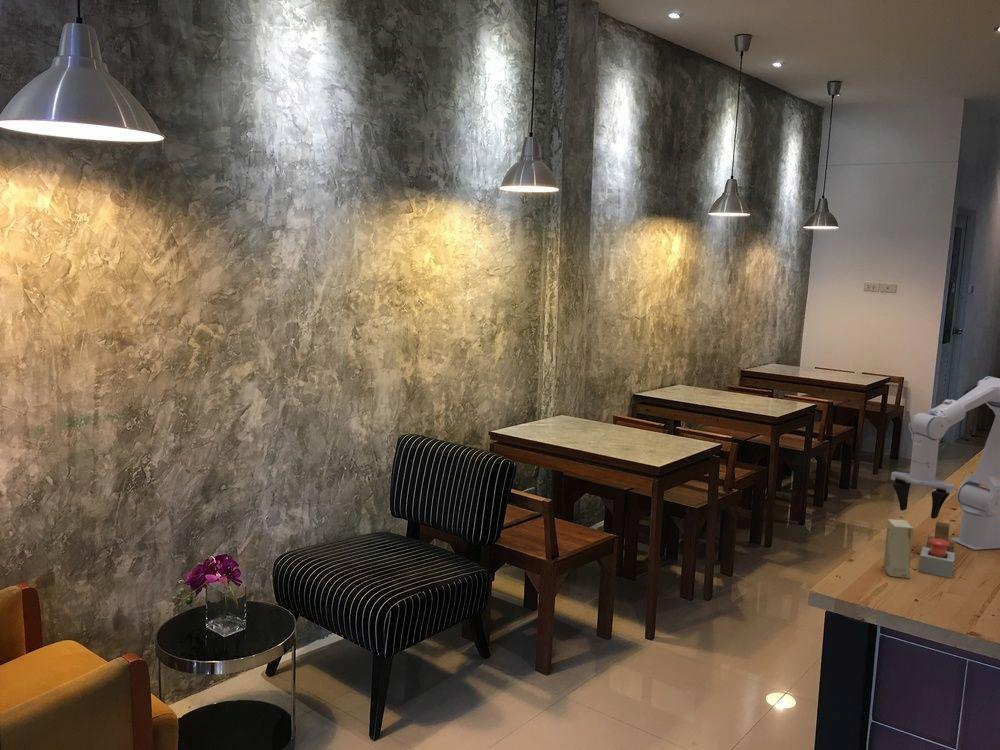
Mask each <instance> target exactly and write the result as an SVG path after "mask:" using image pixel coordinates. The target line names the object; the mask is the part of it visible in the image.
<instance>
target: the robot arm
mask: <svg viewBox="0 0 1000 750" xmlns="http://www.w3.org/2000/svg"><path fill="white" fill-rule="evenodd" d="M983 404H985V405H987V406H988V407H989V409H991V410H992V412H993V413H994V415H995V417H994V420H993V421H992V422H993V423H992V426H991V429H990V430H989V434H988V436H987V438H986V439H987V440H986V441H985V445H984V448H983V450H982V453H981V456H980V459H979V462H978V465H977V467H976V469H975V470H976V471H975V472H973V473H970V474H969V475H966V476H965V477H964V479H963V481H962V482H961V484H960V485H959V486H958V488H957V490H956V495H955V497H956V501H957V503H958V504H959V508H960V509H961V517H960V526H959V536H955V537H950V539H952V540H955V543H958V544H960V545H962V546H964V547H966V548H969V549H970V550H973V551H977V550H979V551H980V550H991V549H992V550H993V549H1000V378H998V377H994V376H990V375H989V376H985V377H984V378H982V379H980V380H978V382H977V384H976V387H974V388H973V389H971V390H970V391H969V392H967V393H965V394H964V395H963V396H961V397H960V398H958V399H957V400H955V399H948V398H946V399H945V400H943V402H942V403H941V404H939V405H937V406H936V407H934V408H931V409H929V410H928V411H926V412H919V413H917V414H915V415H913V416H912V418H911V420H910V422H909V423H908V429H909V431H910V433H911V441H912V447H911V448H912V449H911V460H910V467H909V468H910V469H909V473H906V472H902V471H901V472H900V471H893V472H891V474H890V475H891V476H890V481H891V480H892V481H894V482H893V483H892V487H893V488H894V491H895V494H896V496H897V499H898V502H899V503H898V505H899V509H900V511H902V512H903V511H906V510H907V507H908V500H909V492H910V489H911V485H915V486H921V487H925V488H929V489H933V491H931V501H932V502H931V512H930V513H931V514H930V518H931V519H933V520H934V519H937V518H938V517H939V513H940V511H941V509H942V506H943V505H944V503H945V502H946V500H947V498H948V497H949V496H950V495H951V494H952V493H954V490H955V484H954V483H950V482H946V481H943V480H941V479H940V480H939V479H937V478H936V475H937V474H936V473H937V465H938V455H939V444H940V439H942V438H943V437H944V436H945V434H946V432H947V431H948V430H949V428H950V427H952V426H955V424H957V423H959V422H960V421H962V420H964V419H965V417H966V413H967V412H969V411H971V410H973V409H975V408H977V407H981V405H983ZM983 486H984V487H983ZM986 487H987V488H986Z"/></svg>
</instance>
